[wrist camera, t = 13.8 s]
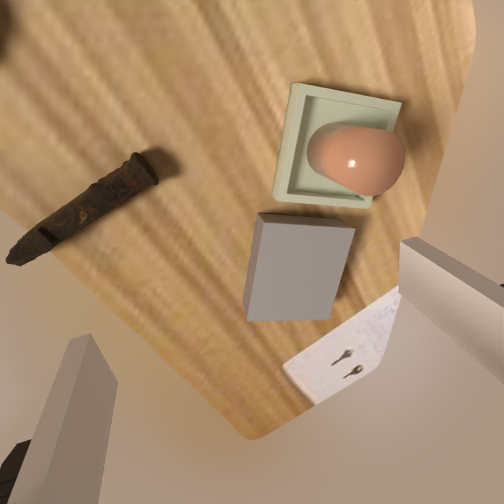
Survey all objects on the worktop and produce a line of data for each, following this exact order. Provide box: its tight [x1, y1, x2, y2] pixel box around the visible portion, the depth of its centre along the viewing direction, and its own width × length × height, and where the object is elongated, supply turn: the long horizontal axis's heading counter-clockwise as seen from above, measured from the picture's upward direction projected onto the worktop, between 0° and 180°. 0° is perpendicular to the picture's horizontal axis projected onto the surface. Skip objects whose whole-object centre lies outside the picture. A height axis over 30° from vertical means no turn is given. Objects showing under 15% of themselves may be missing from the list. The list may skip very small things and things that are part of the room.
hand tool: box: [6, 152, 158, 266], centre depth 36 cm, size 19×4×5 cm, turn 118°
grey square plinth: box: [243, 213, 356, 321], centre depth 46 cm, size 14×12×4 cm
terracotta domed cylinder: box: [307, 123, 405, 196], centre depth 37 cm, size 6×6×10 cm
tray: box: [272, 83, 402, 209], centre depth 40 cm, size 13×13×2 cm
